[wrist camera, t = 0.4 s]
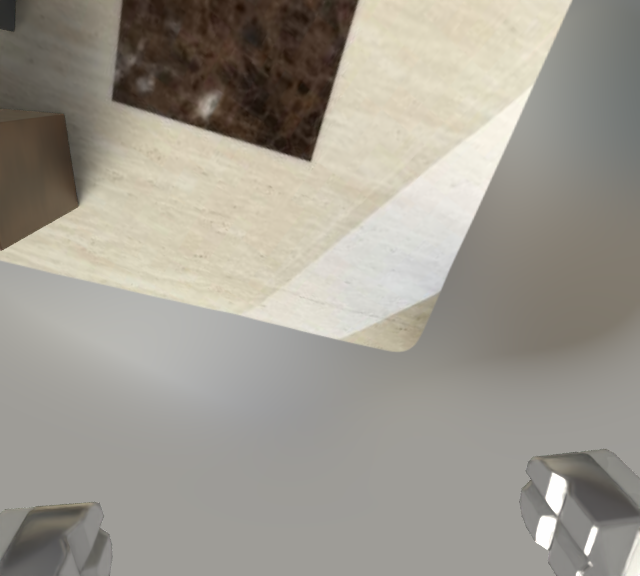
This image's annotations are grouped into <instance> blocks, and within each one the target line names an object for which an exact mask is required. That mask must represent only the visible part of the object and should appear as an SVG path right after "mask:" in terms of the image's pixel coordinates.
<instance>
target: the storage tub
mask: <svg viewBox="0 0 640 576" xmlns="http://www.w3.org/2000/svg"><path fill="white" fill-rule="evenodd" d="M15 3H16V0H0V29H2V30H7V31H13V32H14V25H15Z"/></svg>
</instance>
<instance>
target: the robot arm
mask: <svg viewBox="0 0 640 576" xmlns="http://www.w3.org/2000/svg"><path fill="white" fill-rule="evenodd" d="M526 473H527V474H528V476H529V477H530V479H531V480H530V481H529V482H528V483H527V484H526V485H525V486H524V487H523V488H522V490H521V496H520V501H519V502H520V508H521V514H522V518H523V520H524V523H525V525H526V528H527V529H528V531H529V532H530V534H531V536H532V537H533V539H534V541H536V542H537V543H539V544H540V545H542V546H543V547H544V548H546V549H548V550H549V557H548V563H549V565H550V566H551V568H552V570H553V571H554V573H555V574H556V576H640V478H639V477H638V476H637V475H636V474H635V473H634V472H633V471H632V470H631V469H630V468H629V467H628V466H627V465H626V464H625V463H624V462H623V461H622V460H621V459H620V458H619V457H617V455H616V454H614V453H613V452H611V451H609V450H607V449H600V450H591V451H582V452H571V453H562V454H553V455H545V456H536V457H532V458H531V460H530V461H529V462H528V465H527V469H526ZM103 518H104V514H103V511H102V508H101V506H100V503H97V502H89V503H75V504H62V505H49V506H36V507H29V508H16V509H5V510H4V511H2V512H1V513H0V576H110V570H111V563H112V543H111V539H110V536H109V534H108V533H107V532H106V531H104V530H103V529H101V528H100V526H101V523H102V520H103Z"/></svg>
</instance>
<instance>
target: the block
mask: <svg viewBox="0 0 640 576" xmlns="http://www.w3.org/2000/svg"><path fill="white" fill-rule="evenodd" d="M77 207H78V201H77V195H76V188H75V182H74V175H73V169H72V162H71V156H70V149H69V143H68V136H67V130H66V123H65V117H64V114H60V113H48V112H36V111H24V110H12V109H0V250H1V251H2V250H4V249H5V248H7V247H9V246H11V245H12V244H14V243H16V242H18V241H19V240H21V239H23V238H25V237H26V236H28V235H30V234H32V233H34V232H35V231H37V230H39V229H41V228H42V227H44V226H46V225H48V224H49V223H51V222H53V221H55V220H56V219H58V218H60V217H62V216H63V215H65V214H67V213H69V212H70V211H72V210H74V209H76V208H77Z"/></svg>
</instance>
